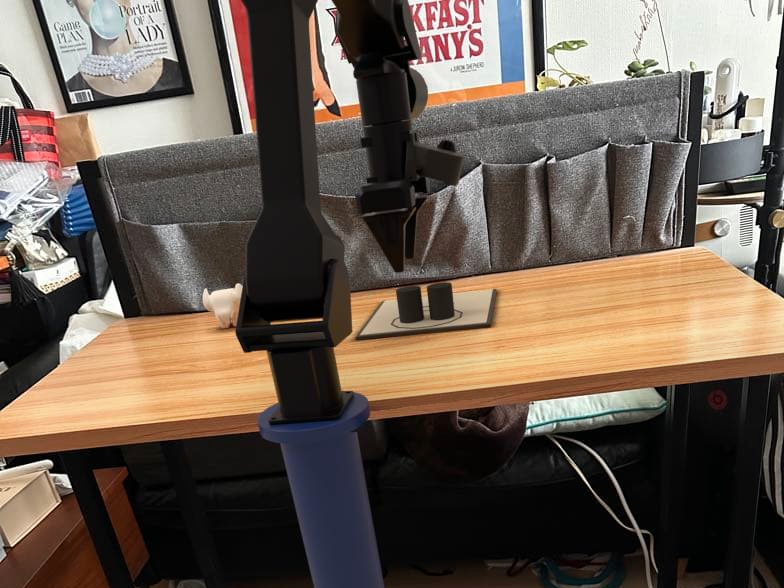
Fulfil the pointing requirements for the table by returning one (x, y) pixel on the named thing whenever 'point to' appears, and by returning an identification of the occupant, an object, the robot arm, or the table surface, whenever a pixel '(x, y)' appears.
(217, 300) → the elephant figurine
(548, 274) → the table surface
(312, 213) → the robot arm
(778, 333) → the table surface
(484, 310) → the sketch board
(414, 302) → the eye puck
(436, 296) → the eye puck
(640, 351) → the table surface
